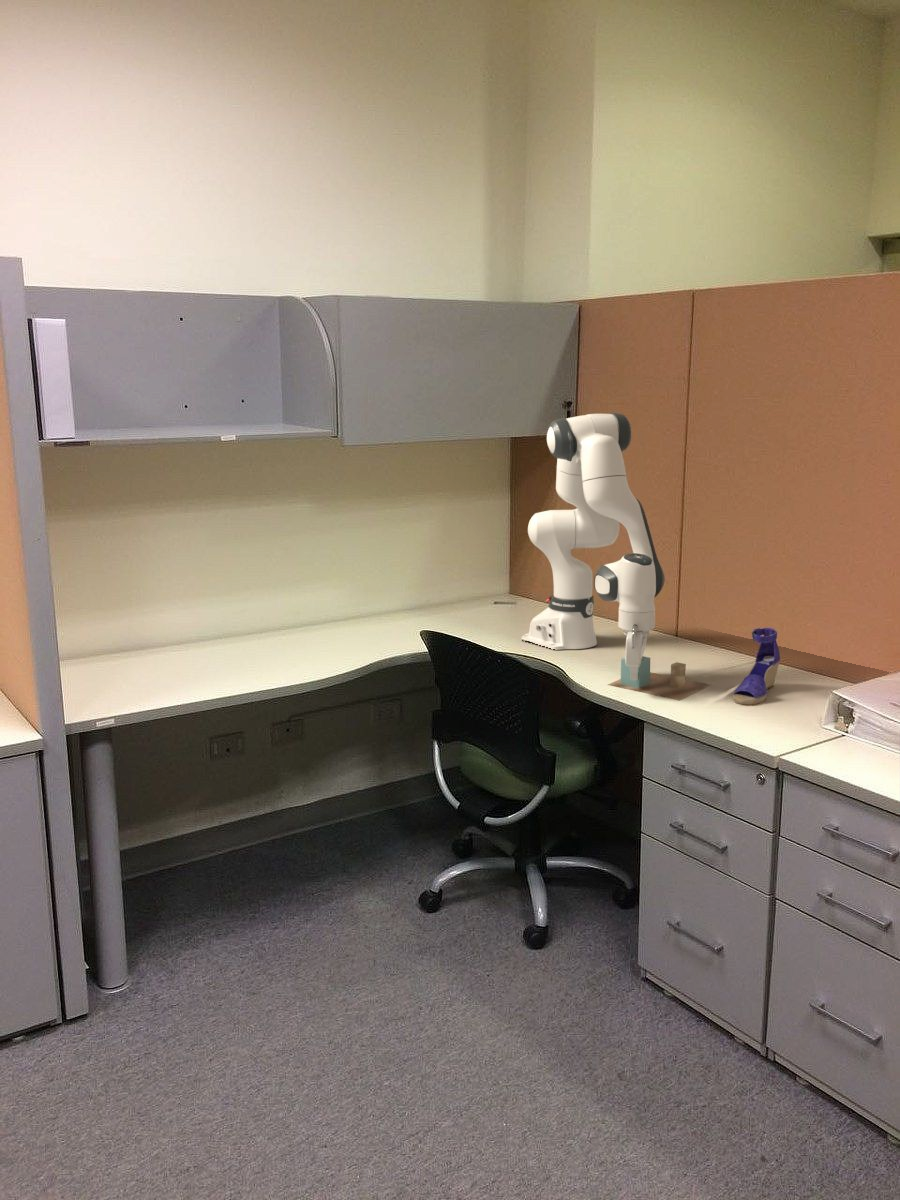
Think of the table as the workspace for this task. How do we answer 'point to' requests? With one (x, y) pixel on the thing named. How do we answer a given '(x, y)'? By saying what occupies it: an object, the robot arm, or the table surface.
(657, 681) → the board
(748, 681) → the sandal
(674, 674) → the post
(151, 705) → the table surface
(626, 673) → the teal rectangular block
